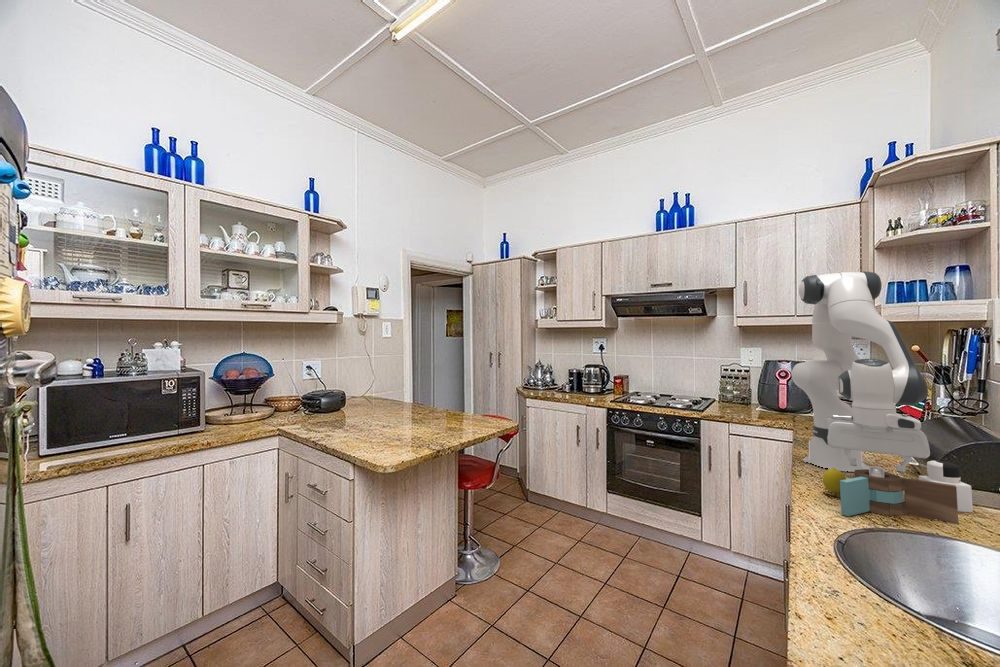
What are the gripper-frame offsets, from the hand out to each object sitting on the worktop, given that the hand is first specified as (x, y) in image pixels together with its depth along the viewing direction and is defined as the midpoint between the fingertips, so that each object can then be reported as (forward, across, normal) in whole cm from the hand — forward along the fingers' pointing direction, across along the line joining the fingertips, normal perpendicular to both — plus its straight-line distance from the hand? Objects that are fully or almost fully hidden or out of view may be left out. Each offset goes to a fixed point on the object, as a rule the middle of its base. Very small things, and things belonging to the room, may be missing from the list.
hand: (876, 468), depth 107 cm
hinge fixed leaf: (+11, +5, 0) cm, 12 cm away
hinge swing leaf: (+10, -2, -4) cm, 12 cm away
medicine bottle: (+11, +14, +13) cm, 22 cm away
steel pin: (+11, 0, 0) cm, 11 cm away
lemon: (+11, -9, +5) cm, 15 cm away
